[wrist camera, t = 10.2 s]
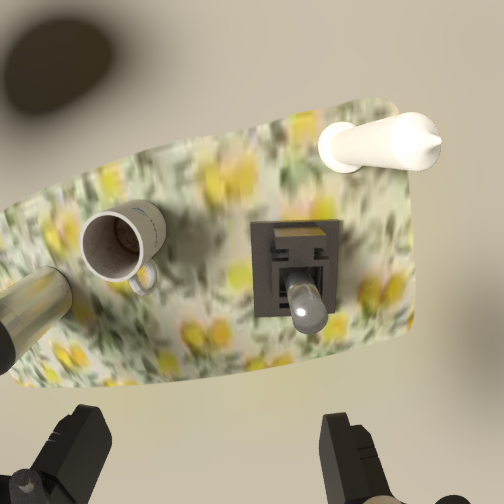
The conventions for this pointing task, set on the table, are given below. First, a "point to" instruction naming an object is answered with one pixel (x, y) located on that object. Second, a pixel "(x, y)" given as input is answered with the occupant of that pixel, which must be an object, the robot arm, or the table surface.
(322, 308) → the tube
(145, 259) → the mug
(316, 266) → the bracket
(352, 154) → the candle
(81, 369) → the table surface
